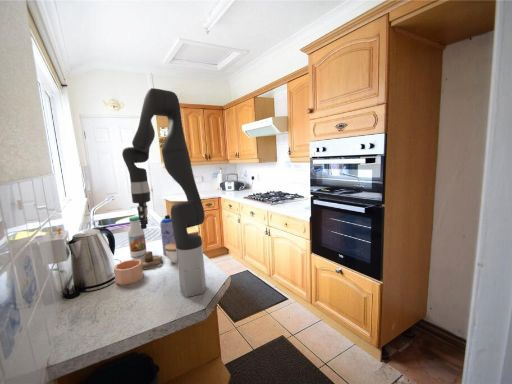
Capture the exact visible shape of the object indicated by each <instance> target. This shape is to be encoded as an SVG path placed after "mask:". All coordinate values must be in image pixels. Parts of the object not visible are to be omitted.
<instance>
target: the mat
mask: <svg viewBox="0 0 512 384" xmlns="http://www.w3.org/2000/svg"><path fill="white" fill-rule="evenodd" d="M160 257H162V256H161V255H160ZM162 258H163V257H162ZM162 262H163V261H162ZM162 262H161V263H160V264H158V265H156V266H154V267H150V268H143V271H144V270H149V269H154V268H160V267H162V265H163V263H162Z"/></svg>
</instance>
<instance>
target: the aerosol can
mask: <svg viewBox="0 0 512 384" xmlns="http://www.w3.org/2000/svg"><path fill="white" fill-rule="evenodd" d="M159 223H160V225H159V226H160V233H161V244H162V251H163V252H162V255H163V256H165V257H167V255H166V250H165V246H166V245H168V244H170V243H173V242H175V239H174V233H173V226H172V220H171V215H169V214H166V215H165V216H164V218H163V219H161V221H160V222H159Z"/></svg>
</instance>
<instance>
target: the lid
mask: <svg viewBox="0 0 512 384" xmlns="http://www.w3.org/2000/svg"><path fill="white" fill-rule="evenodd" d="M139 260H141V261H142V268H150V267H154V266H156V265H158V264H160V263H161V262H163V257H161V255H160V256H159V255H153V251H147V252H145V253H144V255H143V257H142V258H140V259H139ZM150 269H151V268H150Z"/></svg>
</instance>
